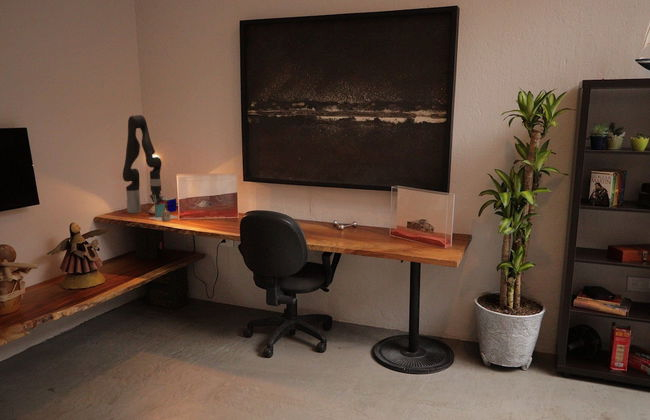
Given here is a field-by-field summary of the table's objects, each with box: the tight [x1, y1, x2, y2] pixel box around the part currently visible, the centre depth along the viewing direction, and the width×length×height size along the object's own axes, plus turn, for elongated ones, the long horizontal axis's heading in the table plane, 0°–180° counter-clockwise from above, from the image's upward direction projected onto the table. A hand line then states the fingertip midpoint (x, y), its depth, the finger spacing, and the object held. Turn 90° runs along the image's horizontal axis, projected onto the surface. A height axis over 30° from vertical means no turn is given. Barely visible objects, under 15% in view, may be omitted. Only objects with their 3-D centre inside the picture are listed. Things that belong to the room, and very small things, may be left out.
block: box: [161, 211, 171, 222], centre depth 367 cm, size 4×4×7 cm
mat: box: [148, 214, 178, 222], centre depth 378 cm, size 16×16×1 cm
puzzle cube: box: [159, 197, 178, 213], centre depth 400 cm, size 10×10×10 cm
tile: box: [153, 203, 165, 217], centre depth 381 cm, size 2×8×9 cm, turn 143°
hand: (157, 208), depth 383 cm, fingers closed
